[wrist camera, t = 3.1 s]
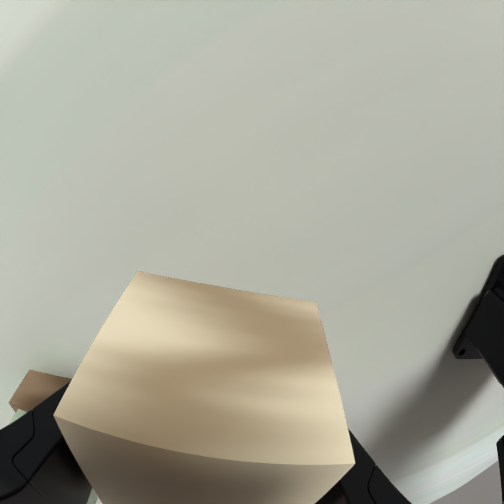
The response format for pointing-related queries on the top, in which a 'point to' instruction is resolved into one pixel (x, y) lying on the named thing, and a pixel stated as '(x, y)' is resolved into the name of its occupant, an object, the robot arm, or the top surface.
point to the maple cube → (207, 399)
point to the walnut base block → (35, 390)
